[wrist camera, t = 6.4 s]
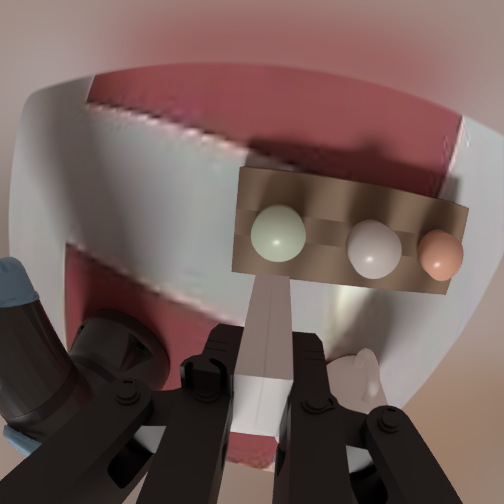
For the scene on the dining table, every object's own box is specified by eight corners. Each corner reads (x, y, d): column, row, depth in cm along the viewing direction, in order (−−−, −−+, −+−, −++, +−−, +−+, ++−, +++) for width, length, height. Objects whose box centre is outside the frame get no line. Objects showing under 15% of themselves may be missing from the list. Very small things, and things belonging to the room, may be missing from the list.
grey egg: (337, 258, 26) (346, 276, 22) (345, 211, 24) (356, 222, 20) (379, 263, 25) (394, 281, 21) (389, 219, 24) (406, 230, 20)
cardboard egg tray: (236, 260, 30) (231, 271, 28) (244, 166, 27) (239, 167, 24) (434, 283, 29) (445, 294, 26) (455, 202, 25) (469, 208, 23)
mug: (331, 327, 32) (345, 388, 22) (392, 331, 31) (420, 386, 22) (310, 394, 36) (313, 452, 26) (363, 395, 35) (376, 450, 26)
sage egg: (253, 243, 27) (248, 258, 23) (258, 198, 26) (253, 205, 22) (298, 248, 27) (301, 265, 23) (305, 204, 26) (309, 212, 22)
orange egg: (405, 262, 26) (422, 278, 22) (415, 221, 25) (434, 232, 21) (437, 266, 26) (455, 282, 22) (447, 228, 25) (468, 239, 21)
